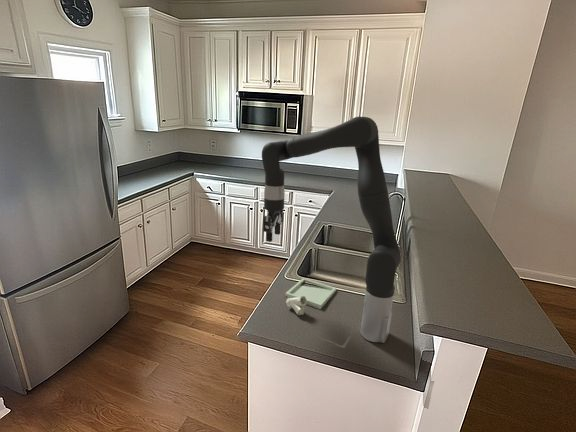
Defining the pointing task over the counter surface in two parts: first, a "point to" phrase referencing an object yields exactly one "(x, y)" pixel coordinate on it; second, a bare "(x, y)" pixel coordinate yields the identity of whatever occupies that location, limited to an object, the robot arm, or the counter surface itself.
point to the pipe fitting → (297, 304)
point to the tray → (312, 293)
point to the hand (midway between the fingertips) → (273, 237)
